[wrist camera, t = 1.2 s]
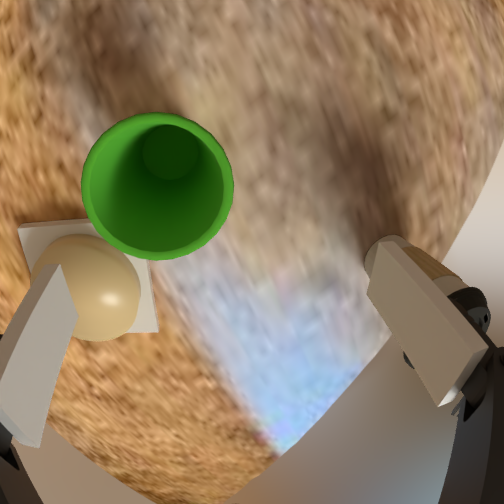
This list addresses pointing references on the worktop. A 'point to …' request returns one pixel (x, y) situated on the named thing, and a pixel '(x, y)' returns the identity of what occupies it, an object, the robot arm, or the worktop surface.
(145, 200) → the cup
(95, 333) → the domed square tile
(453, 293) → the coffee cup
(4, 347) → the robot arm
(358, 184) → the worktop surface
